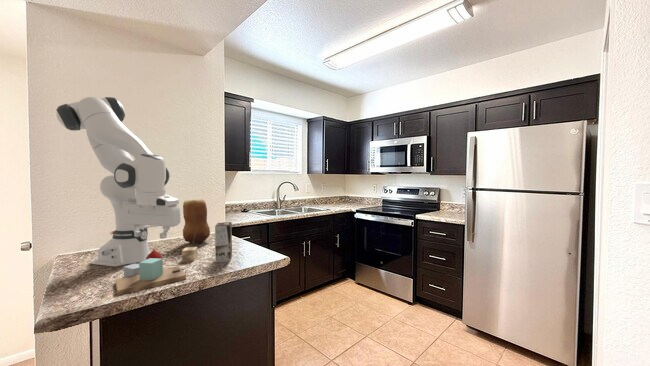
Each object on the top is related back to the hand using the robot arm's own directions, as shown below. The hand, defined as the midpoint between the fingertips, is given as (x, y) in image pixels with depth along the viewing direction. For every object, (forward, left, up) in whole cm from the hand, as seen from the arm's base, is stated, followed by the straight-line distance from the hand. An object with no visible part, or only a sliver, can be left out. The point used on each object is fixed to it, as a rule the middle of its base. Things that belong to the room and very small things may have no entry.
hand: (150, 237), depth 96 cm
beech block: (0, +23, -16) cm, 28 cm away
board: (0, -1, -16) cm, 16 cm away
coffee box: (+15, +25, -16) cm, 34 cm away
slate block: (-10, +3, -16) cm, 19 cm away
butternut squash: (-12, +49, -16) cm, 53 cm away
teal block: (0, -1, -14) cm, 14 cm away
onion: (-8, +11, -16) cm, 21 cm away
